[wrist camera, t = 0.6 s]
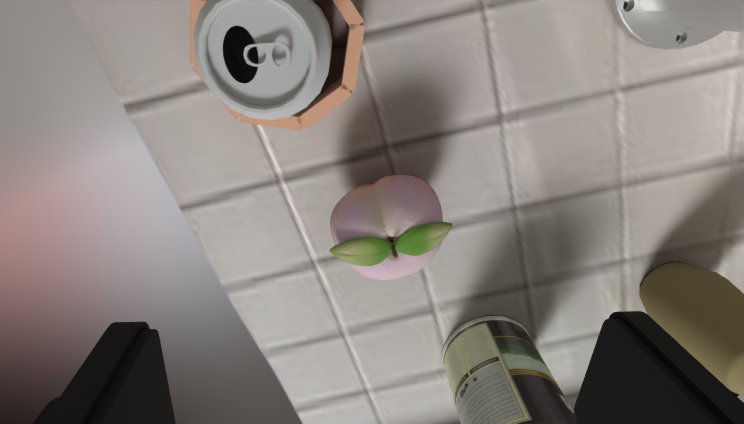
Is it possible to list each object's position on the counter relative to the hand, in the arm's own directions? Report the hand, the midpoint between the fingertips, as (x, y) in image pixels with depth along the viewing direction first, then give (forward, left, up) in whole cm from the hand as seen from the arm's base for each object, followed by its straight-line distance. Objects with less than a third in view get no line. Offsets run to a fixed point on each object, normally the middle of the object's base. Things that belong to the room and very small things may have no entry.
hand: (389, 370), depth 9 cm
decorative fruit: (+3, +9, -29) cm, 31 cm away
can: (+2, -7, -30) cm, 30 cm away
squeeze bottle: (-16, +35, -29) cm, 49 cm away
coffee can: (+4, +31, -30) cm, 43 cm away
